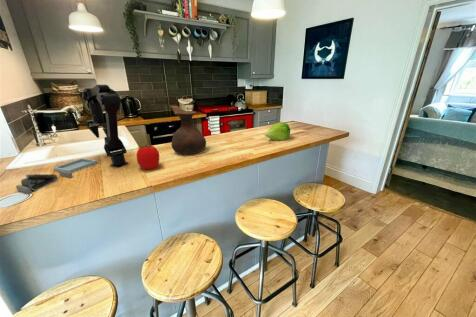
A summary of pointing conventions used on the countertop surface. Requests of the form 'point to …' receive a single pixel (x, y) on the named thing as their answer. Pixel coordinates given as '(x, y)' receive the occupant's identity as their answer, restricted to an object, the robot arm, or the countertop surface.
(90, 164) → the tray
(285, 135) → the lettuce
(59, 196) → the countertop surface
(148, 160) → the red apple
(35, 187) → the dark piece
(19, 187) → the bay rails
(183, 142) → the dark brown vase
